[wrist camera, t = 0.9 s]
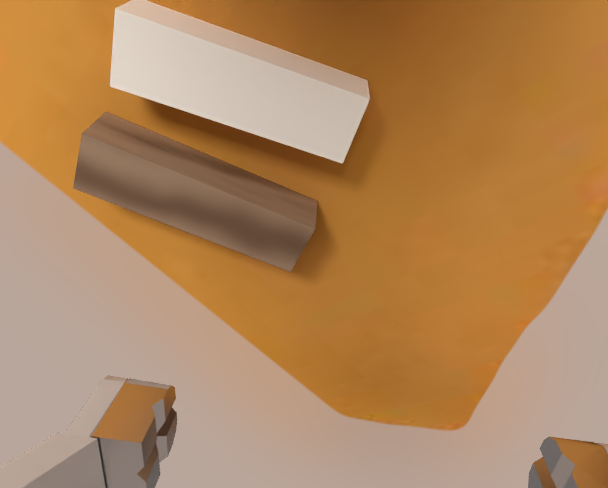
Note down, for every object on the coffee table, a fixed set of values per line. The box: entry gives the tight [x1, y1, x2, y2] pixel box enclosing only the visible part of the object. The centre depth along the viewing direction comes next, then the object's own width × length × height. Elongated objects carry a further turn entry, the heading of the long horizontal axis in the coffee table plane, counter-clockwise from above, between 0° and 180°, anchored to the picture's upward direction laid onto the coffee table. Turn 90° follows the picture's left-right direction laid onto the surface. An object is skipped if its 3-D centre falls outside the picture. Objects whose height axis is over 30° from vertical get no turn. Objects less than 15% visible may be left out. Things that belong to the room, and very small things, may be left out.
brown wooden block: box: [73, 112, 318, 272], centre depth 45 cm, size 6×22×5 cm, turn 66°
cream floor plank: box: [110, 0, 370, 164], centre depth 39 cm, size 6×20×5 cm, turn 72°
